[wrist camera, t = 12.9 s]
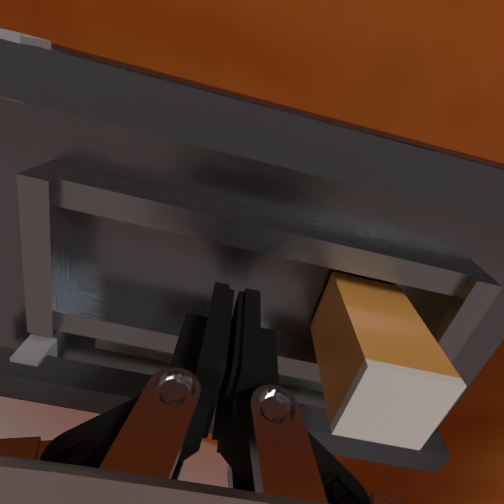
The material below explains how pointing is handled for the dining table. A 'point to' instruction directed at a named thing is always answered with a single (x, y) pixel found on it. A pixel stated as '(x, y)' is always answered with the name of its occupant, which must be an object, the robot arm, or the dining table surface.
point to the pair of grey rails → (237, 143)
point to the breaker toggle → (380, 364)
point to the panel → (217, 243)
